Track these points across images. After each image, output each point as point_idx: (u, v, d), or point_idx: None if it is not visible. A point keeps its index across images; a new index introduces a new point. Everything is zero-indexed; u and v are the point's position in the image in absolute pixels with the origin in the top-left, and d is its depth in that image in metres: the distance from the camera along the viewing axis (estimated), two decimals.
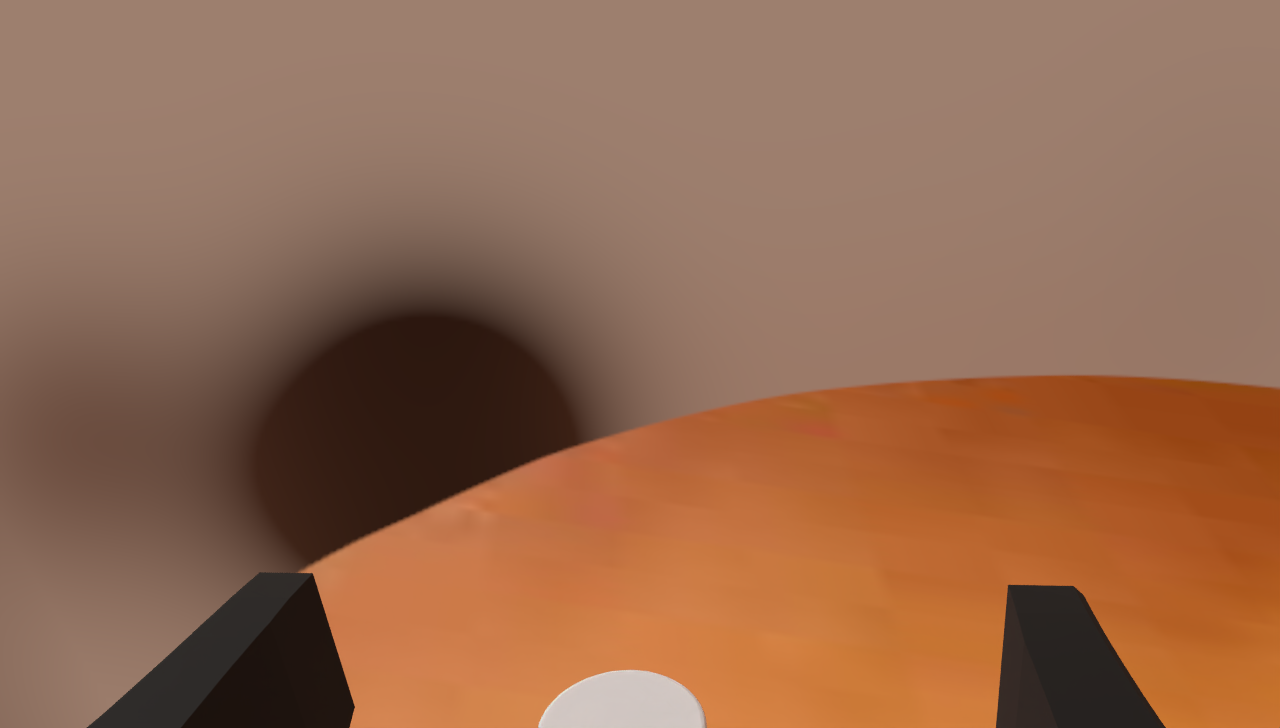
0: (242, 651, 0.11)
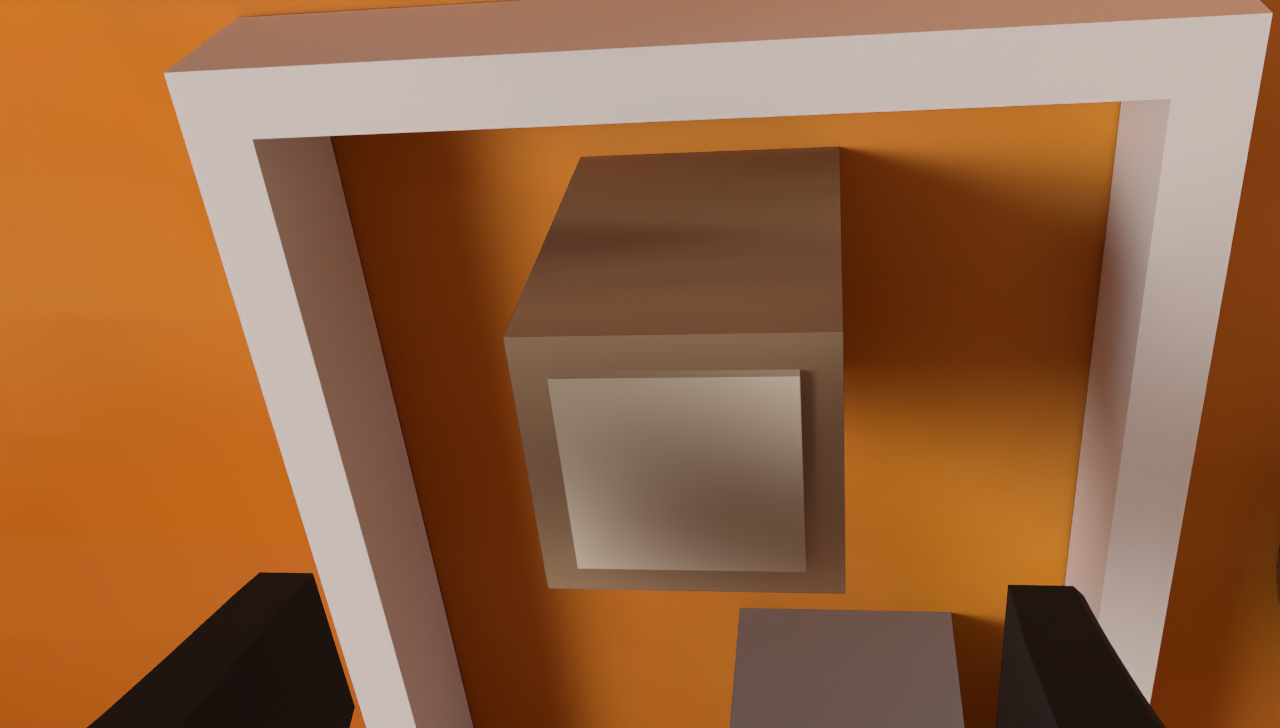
0: (242, 650, 0.11)
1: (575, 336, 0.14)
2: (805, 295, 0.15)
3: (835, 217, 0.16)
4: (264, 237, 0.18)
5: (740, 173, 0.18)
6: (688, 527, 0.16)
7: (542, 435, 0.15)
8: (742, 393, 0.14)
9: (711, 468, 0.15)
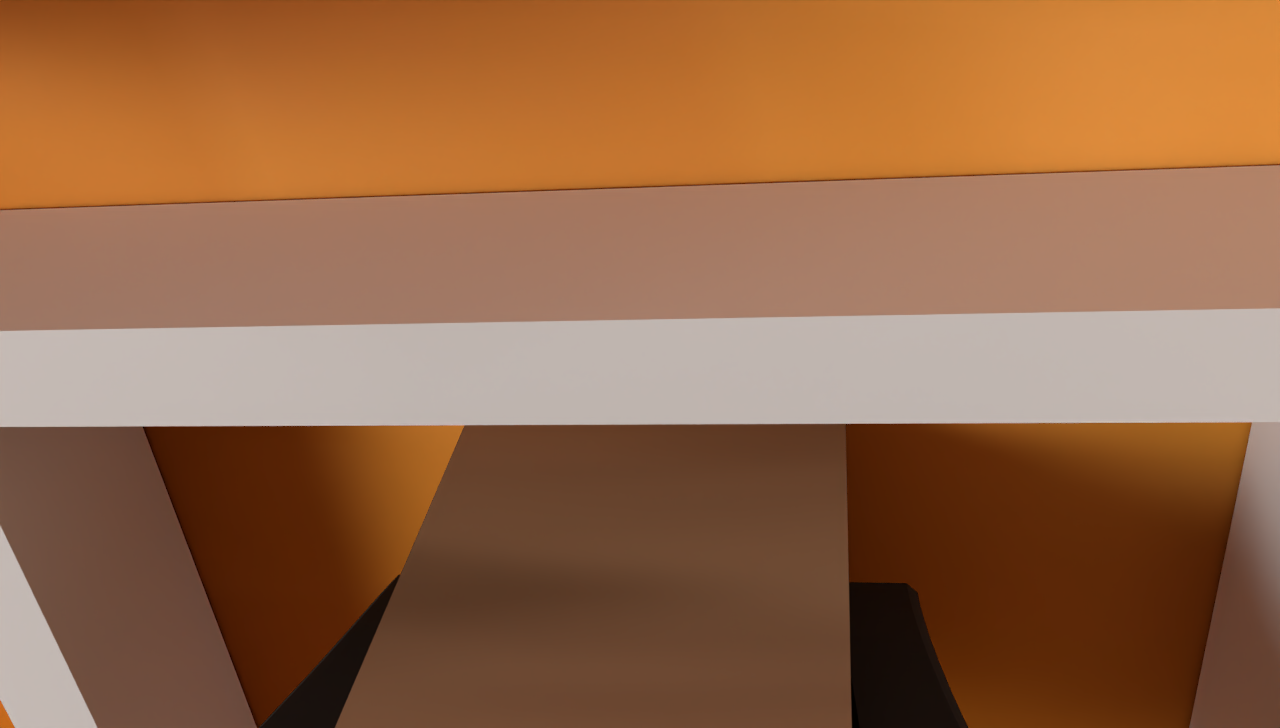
0: None
1: None
2: None
3: (841, 561, 0.11)
4: None
5: (699, 452, 0.12)
6: None
7: None
8: None
9: None
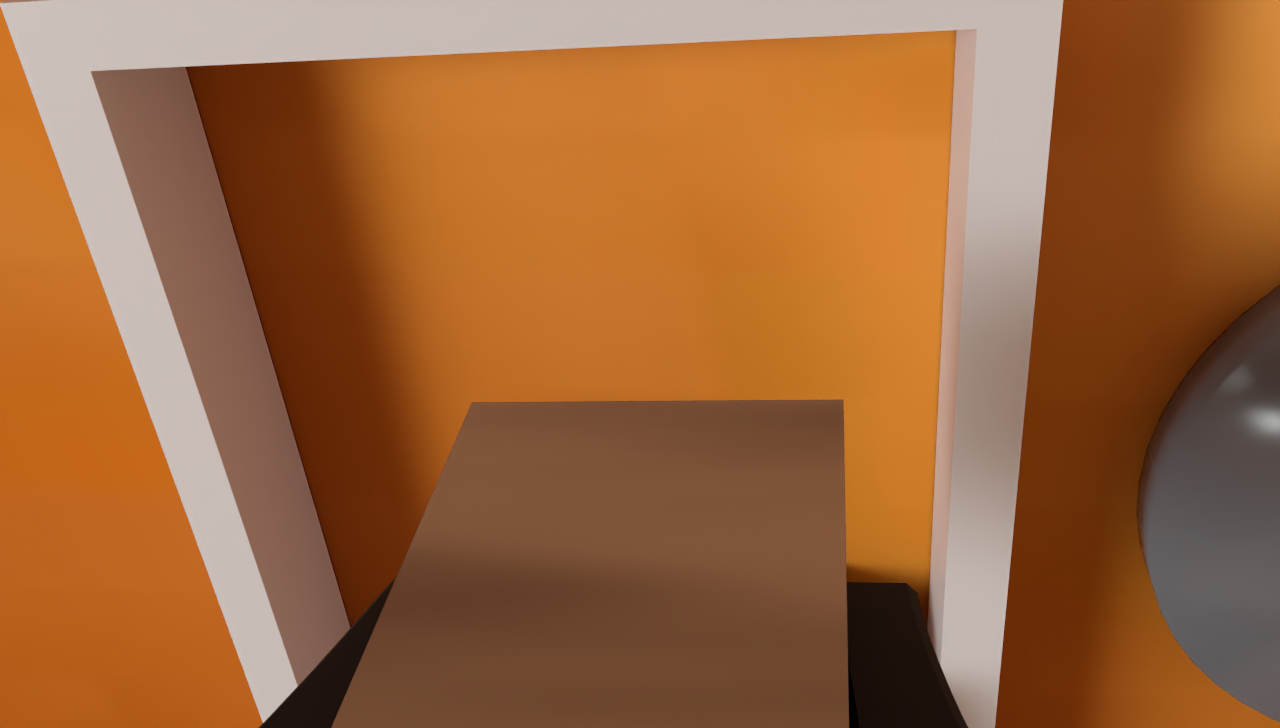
0: None
1: None
2: None
3: (838, 559, 0.11)
4: (109, 171, 0.18)
5: (697, 451, 0.12)
6: None
7: None
8: None
9: None
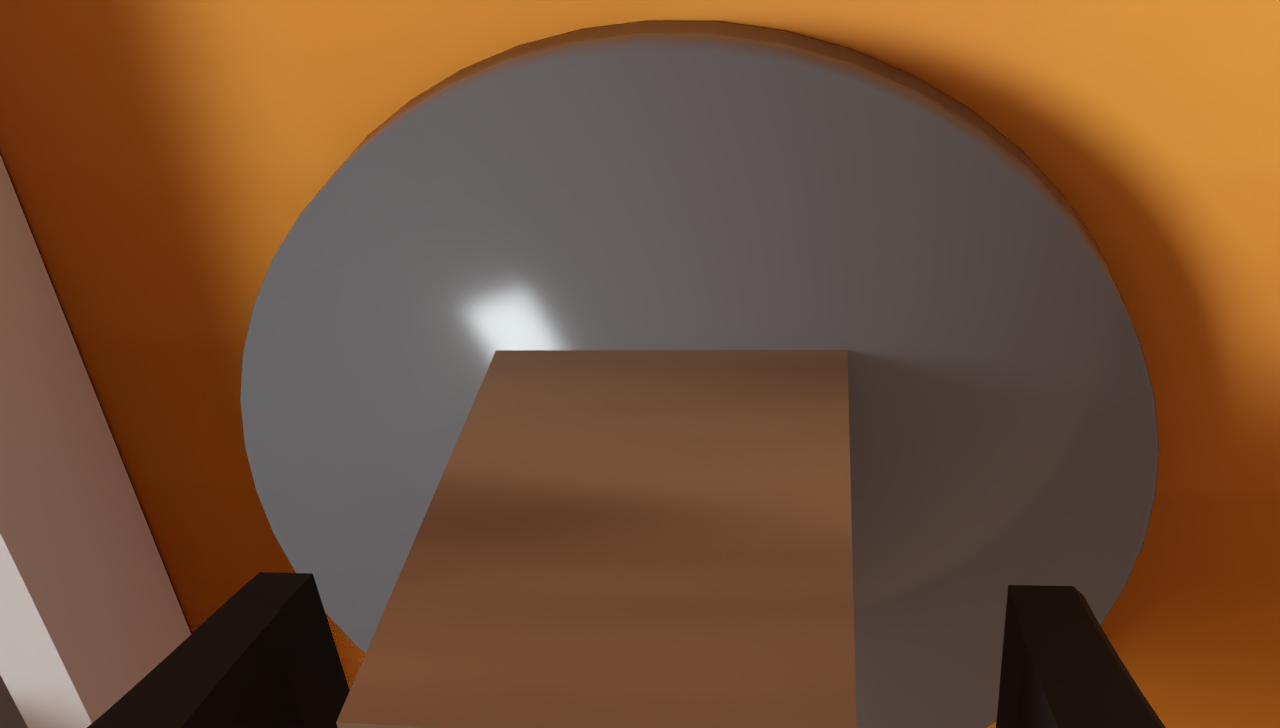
0: (242, 651, 0.11)
1: None
2: (798, 657, 0.10)
3: (844, 488, 0.11)
4: None
5: (710, 394, 0.13)
6: None
7: None
8: None
9: None
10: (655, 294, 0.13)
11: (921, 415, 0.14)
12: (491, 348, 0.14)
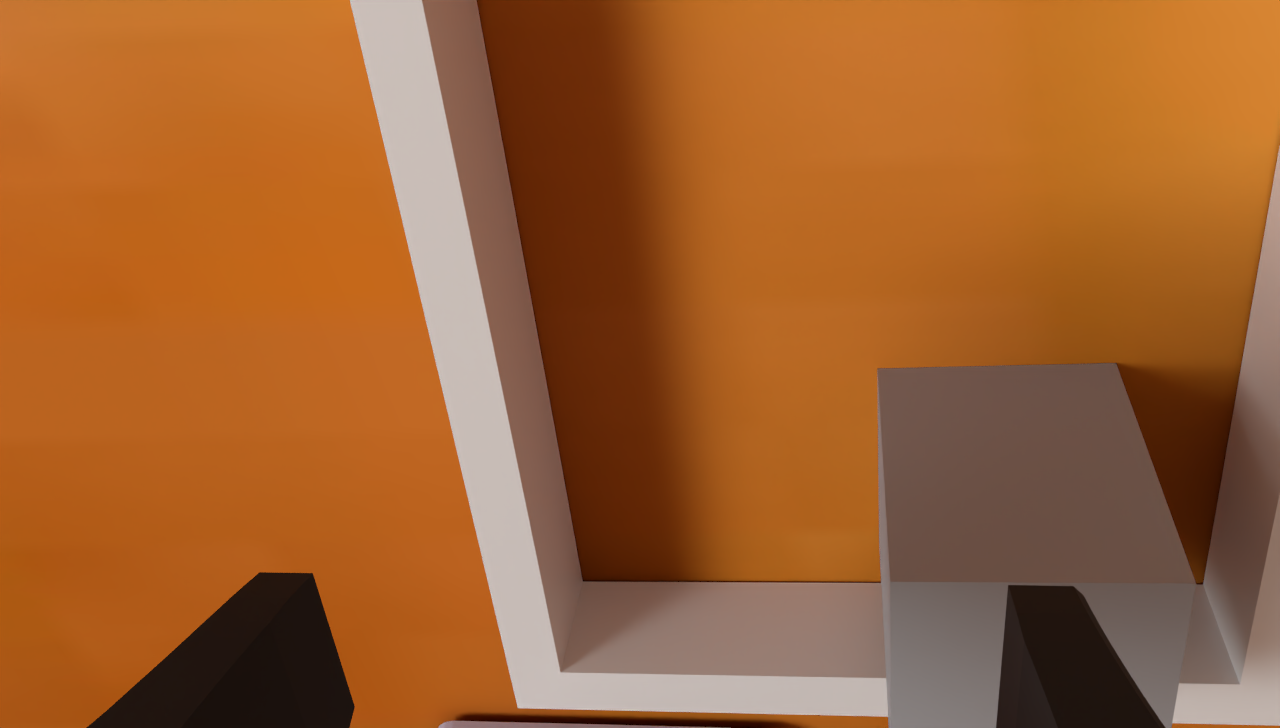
0: (242, 650, 0.11)
1: None
2: None
3: None
4: None
5: None
6: None
7: None
8: None
9: None
10: None
11: None
12: None
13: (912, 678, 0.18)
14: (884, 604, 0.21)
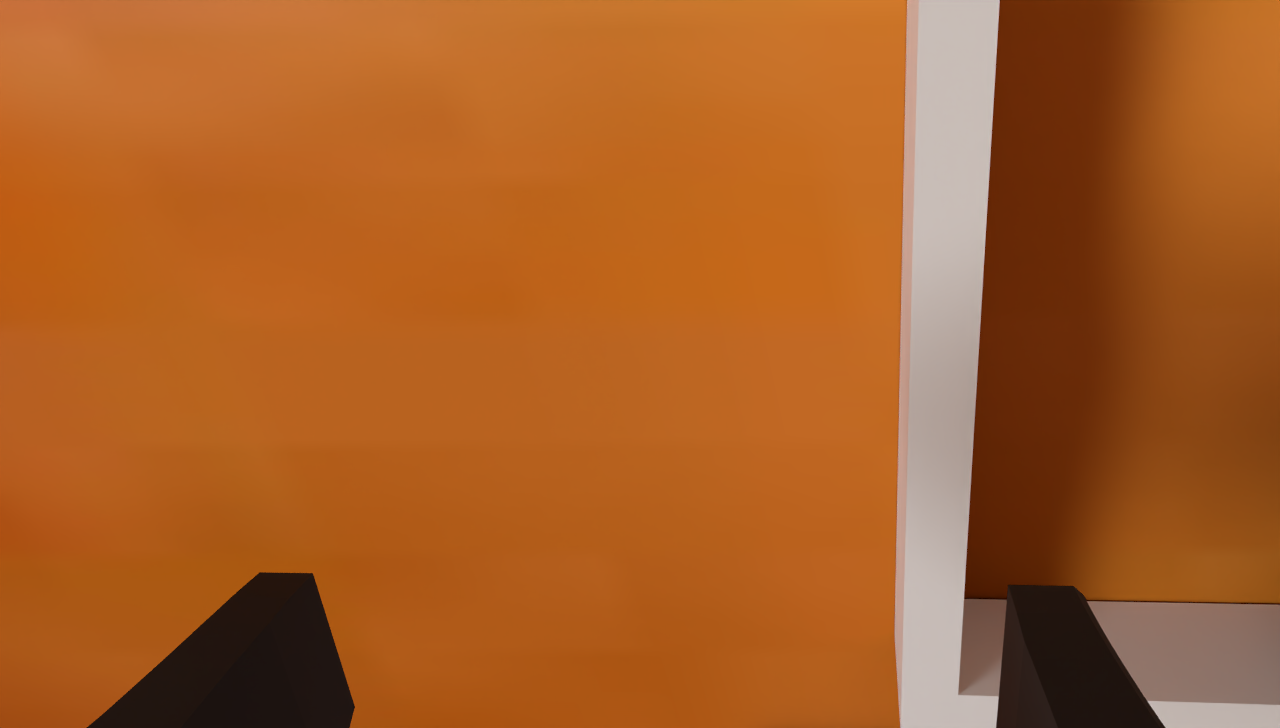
0: (242, 650, 0.11)
1: None
2: None
3: None
4: None
5: None
6: None
7: None
8: None
9: None
10: None
11: None
12: None
13: None
14: None
